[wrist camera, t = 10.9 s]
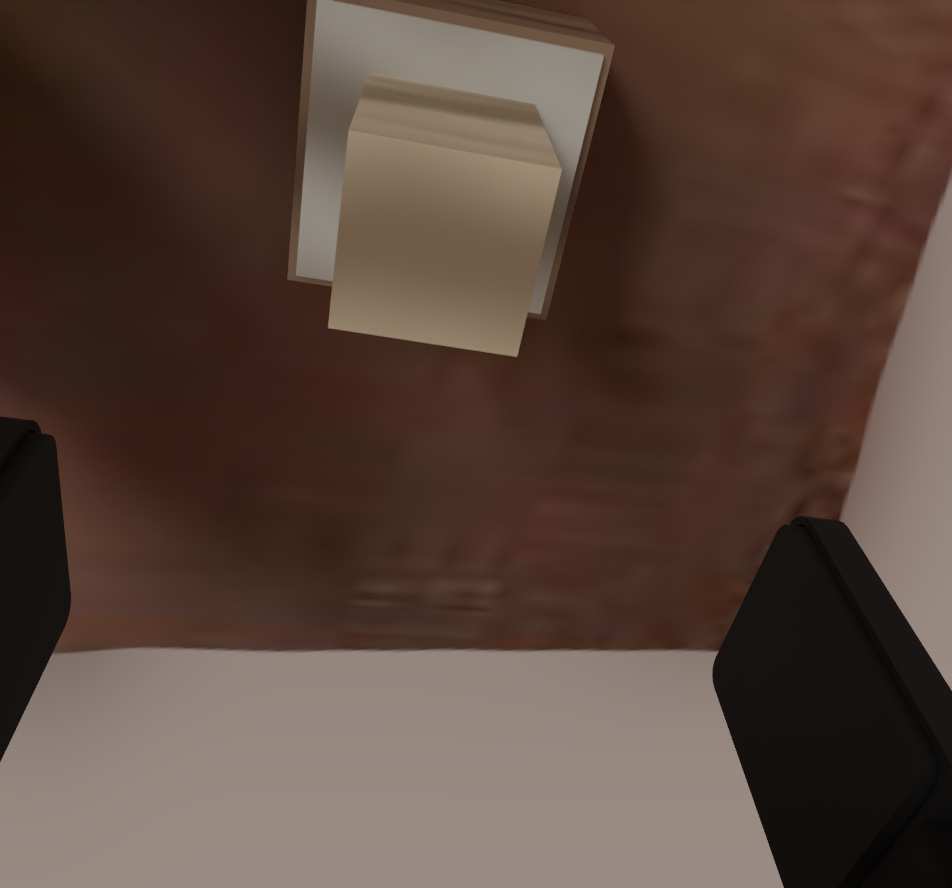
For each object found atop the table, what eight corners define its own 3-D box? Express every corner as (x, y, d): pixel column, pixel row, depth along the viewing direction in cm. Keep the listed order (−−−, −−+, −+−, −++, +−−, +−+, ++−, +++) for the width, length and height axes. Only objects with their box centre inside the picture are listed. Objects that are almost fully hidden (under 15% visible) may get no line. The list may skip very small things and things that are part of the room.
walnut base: (330, -34, 29) (307, -16, 24) (586, 18, 30) (616, 46, 25) (309, 220, 34) (286, 282, 29) (530, 257, 35) (547, 323, 30)
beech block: (369, 72, 25) (348, 130, 20) (534, 104, 26) (562, 169, 20) (351, 234, 28) (328, 328, 22) (501, 259, 29) (517, 356, 23)
